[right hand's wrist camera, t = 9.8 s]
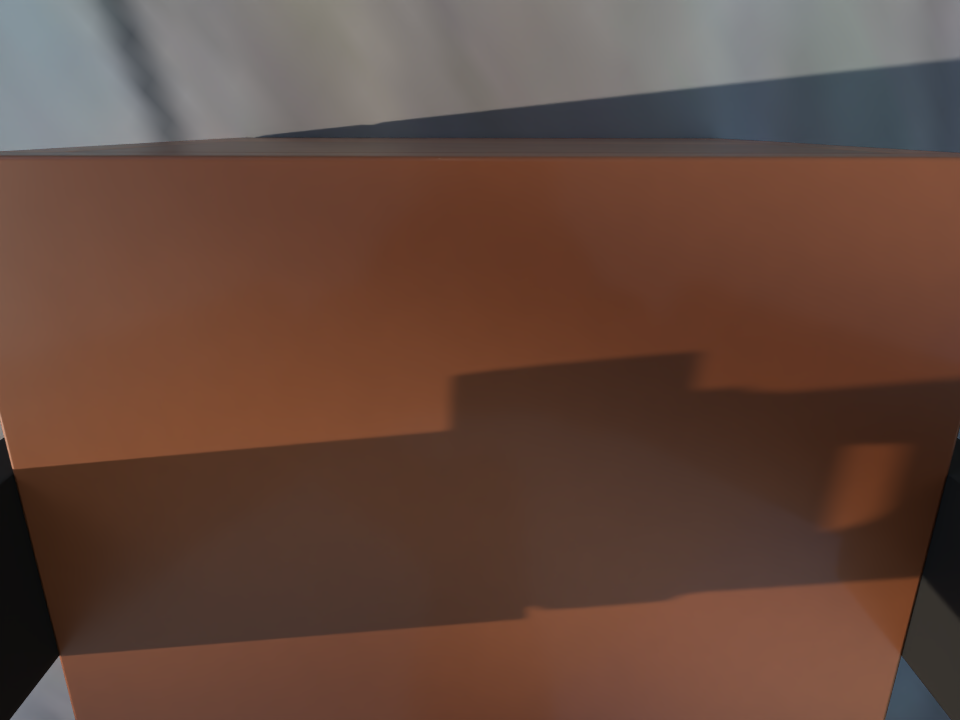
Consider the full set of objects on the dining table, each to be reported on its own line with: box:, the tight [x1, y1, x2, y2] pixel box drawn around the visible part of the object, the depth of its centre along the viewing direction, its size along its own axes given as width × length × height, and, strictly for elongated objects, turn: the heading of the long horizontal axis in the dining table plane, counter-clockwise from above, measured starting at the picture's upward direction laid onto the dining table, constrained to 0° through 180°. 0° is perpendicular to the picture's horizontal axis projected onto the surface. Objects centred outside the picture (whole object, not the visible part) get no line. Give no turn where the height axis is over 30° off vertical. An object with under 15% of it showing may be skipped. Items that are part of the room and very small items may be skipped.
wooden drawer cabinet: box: [0, 138, 960, 720], centre depth 14 cm, size 17×11×9 cm, turn 0°
